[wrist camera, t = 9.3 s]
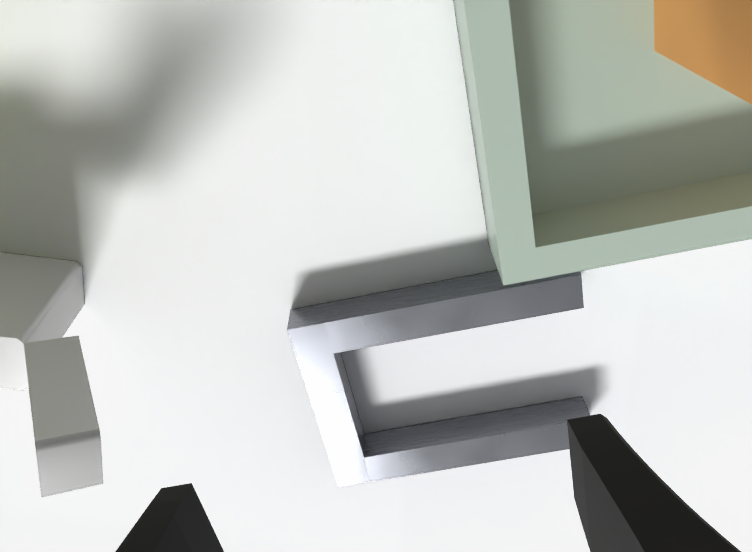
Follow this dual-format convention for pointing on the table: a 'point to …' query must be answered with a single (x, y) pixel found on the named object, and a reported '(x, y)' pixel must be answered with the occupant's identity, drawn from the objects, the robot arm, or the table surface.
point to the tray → (596, 138)
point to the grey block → (50, 367)
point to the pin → (708, 40)
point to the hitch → (415, 320)
